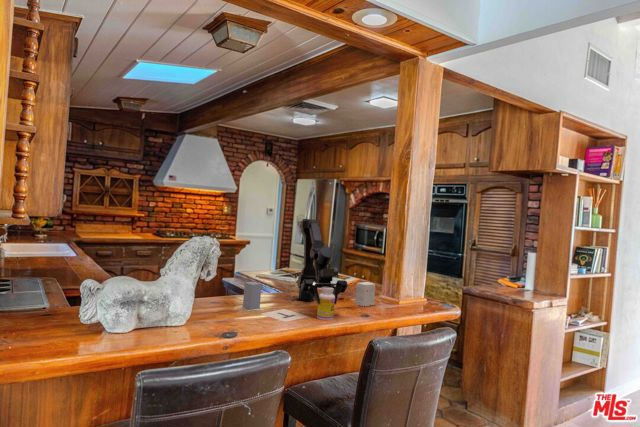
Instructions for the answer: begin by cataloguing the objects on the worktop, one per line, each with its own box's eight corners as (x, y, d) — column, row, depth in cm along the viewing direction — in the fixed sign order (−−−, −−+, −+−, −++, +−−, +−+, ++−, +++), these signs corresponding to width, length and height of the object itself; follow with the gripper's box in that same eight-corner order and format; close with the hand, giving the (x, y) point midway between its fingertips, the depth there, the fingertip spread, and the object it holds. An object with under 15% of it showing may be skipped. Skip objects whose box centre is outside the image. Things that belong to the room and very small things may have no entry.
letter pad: (259, 315, 171) (260, 313, 171) (283, 310, 182) (284, 308, 182) (285, 323, 162) (285, 321, 162) (309, 317, 173) (309, 316, 173)
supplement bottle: (331, 322, 169) (334, 290, 169) (315, 320, 171) (317, 288, 170) (334, 318, 176) (337, 287, 176) (318, 316, 177) (321, 285, 177)
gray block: (251, 307, 183) (253, 281, 183) (259, 309, 180) (261, 283, 180) (242, 308, 179) (244, 282, 179) (250, 311, 176) (252, 284, 176)
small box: (365, 302, 211) (366, 281, 211) (374, 305, 207) (375, 283, 207) (354, 304, 205) (356, 282, 205) (363, 307, 201) (365, 284, 201)
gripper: (305, 259, 174) (309, 292, 164) (348, 261, 179) (355, 293, 169) (299, 275, 182) (303, 307, 171) (340, 276, 187) (346, 308, 176)
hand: (327, 303), depth 172 cm, fingers closed on supplement bottle, 7 cm apart
